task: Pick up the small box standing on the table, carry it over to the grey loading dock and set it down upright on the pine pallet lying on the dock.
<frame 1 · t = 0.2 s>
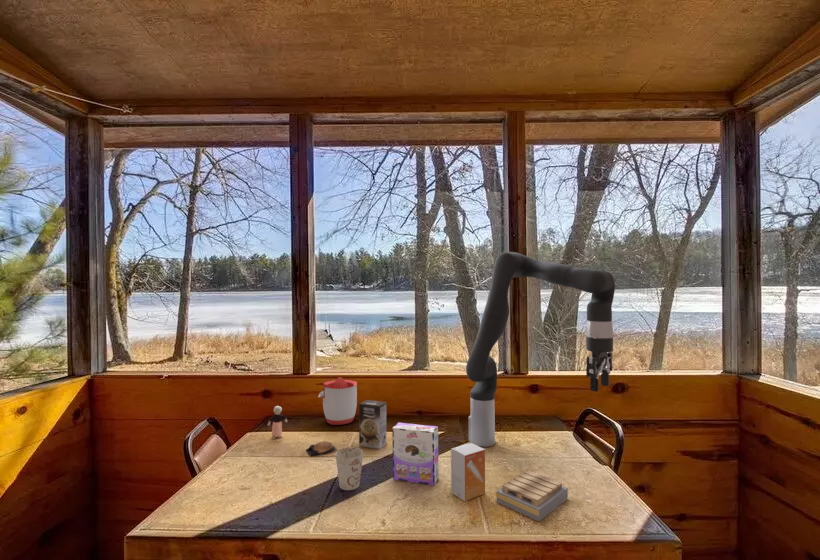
hand: (599, 388, 123), 29 cm above the table, tool pointing down, fingers open, 8 cm apart
coffee box: (372, 445, 153), on the table
small box: (468, 493, 117), on the table
grandmother figurine: (277, 437, 162), on the table
dock: (532, 500, 113), on the table
citrus juicer: (338, 421, 180), on the table
candy box: (415, 479, 126), on the table
pallet: (532, 489, 113), resting on dock
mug: (347, 483, 124), on the table
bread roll: (321, 452, 148), on the table
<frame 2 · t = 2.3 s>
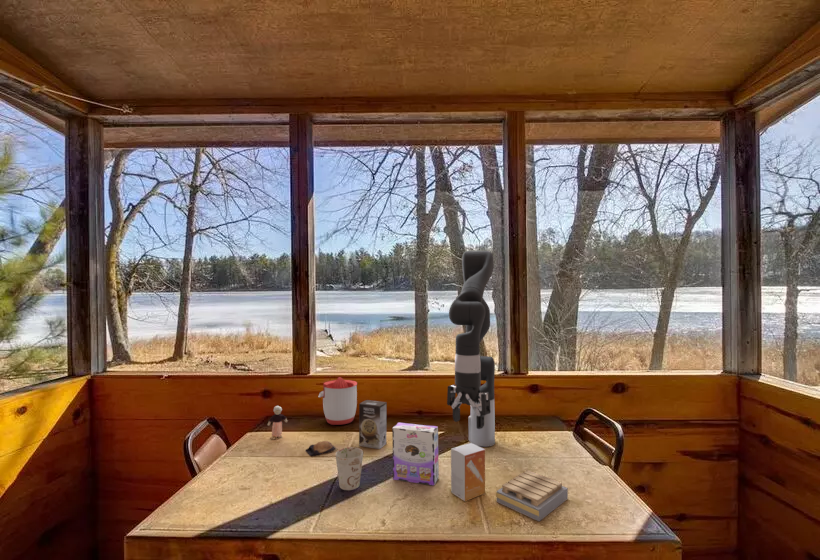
hand: (468, 424, 117), 20 cm above the table, tool pointing down, fingers open, 8 cm apart
nothing on the table moved.
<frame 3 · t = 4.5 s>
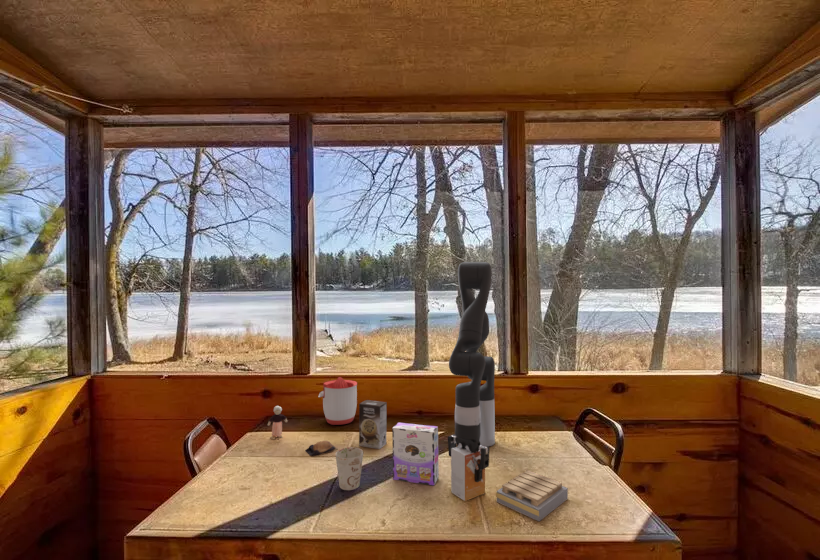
hand: (468, 476, 117), 5 cm above the table, tool pointing down, fingers closed on small box, 6 cm apart
small box: (468, 493, 117), on the table, touching gripper
everything else where it was.
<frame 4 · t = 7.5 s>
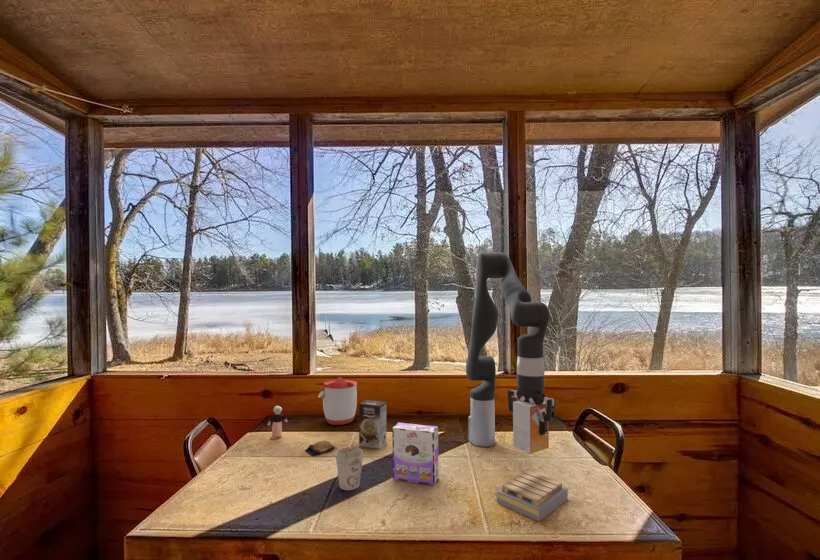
hand: (531, 430, 113), 20 cm above the table, tool pointing down, fingers closed on small box, 6 cm apart
small box: (531, 448, 113), point 15 cm above the table, touching gripper
everything else where it was.
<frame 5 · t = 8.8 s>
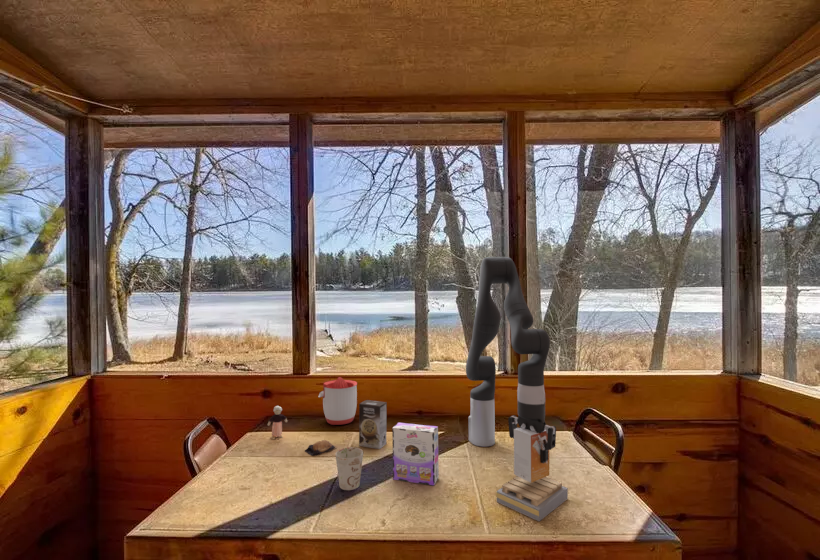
hand: (531, 458, 113), 12 cm above the table, tool pointing down, fingers closed on small box, 6 cm apart
small box: (531, 475, 113), point 7 cm above the table, touching gripper
everything else where it was.
when the fingers open (10 cm above the table, at t = 10.1 s): small box stays where it is, resting on pallet.
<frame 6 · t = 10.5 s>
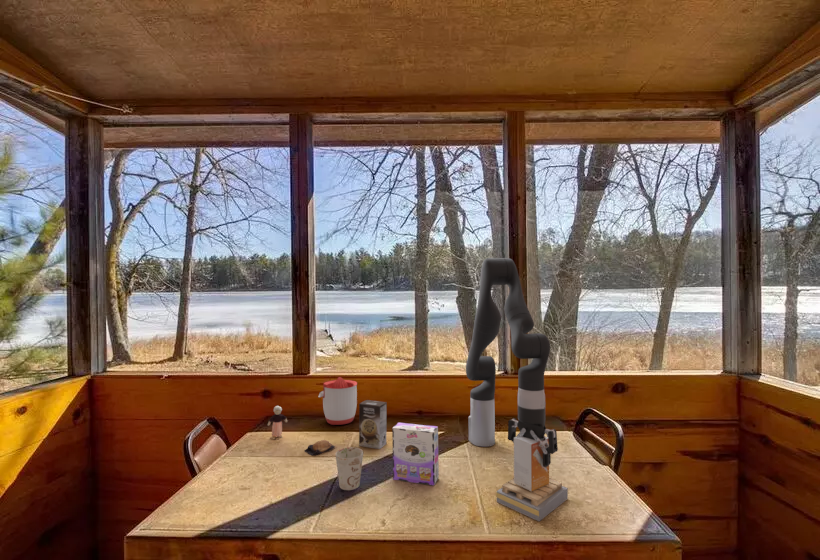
hand: (531, 461, 113), 11 cm above the table, tool pointing down, fingers open, 8 cm apart
small box: (531, 484, 113), point 4 cm above the table, touching pallet
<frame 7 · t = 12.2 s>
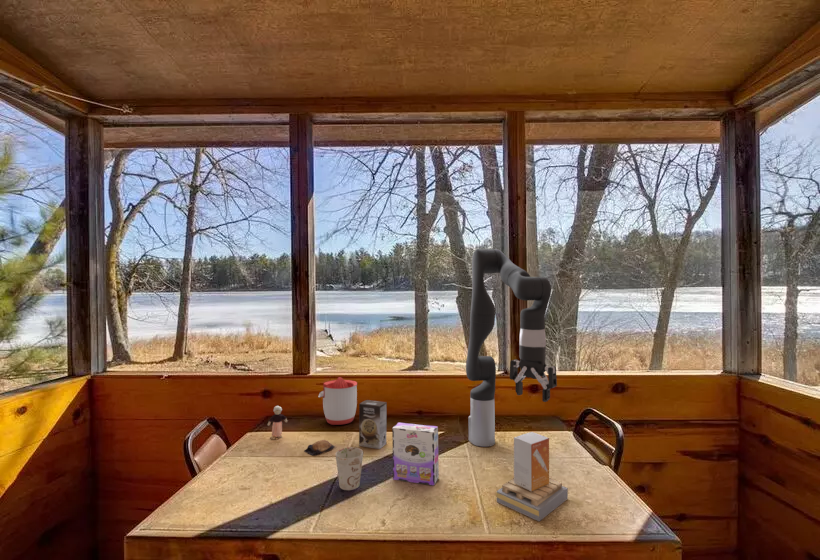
hand: (532, 397, 119), 27 cm above the table, tool pointing down, fingers open, 8 cm apart
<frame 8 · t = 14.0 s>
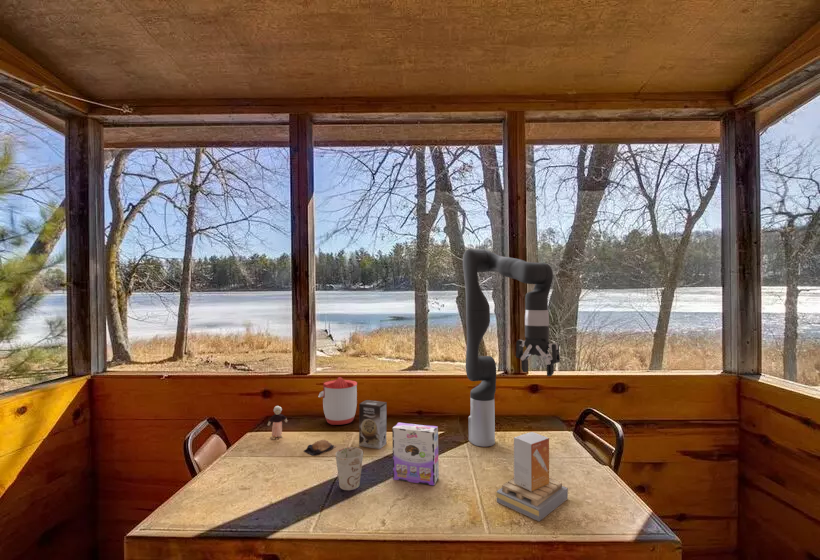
hand: (537, 373, 129), 32 cm above the table, tool pointing down, fingers open, 8 cm apart
at the end: small box inside the target area on the pallet (0.2 cm from its centre), point 1.4 cm above the pallet's base; small box tilted 0°; the gripper is holding nothing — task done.
